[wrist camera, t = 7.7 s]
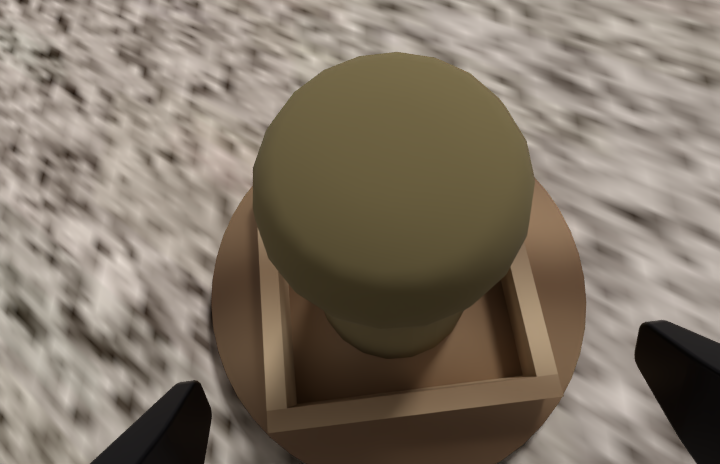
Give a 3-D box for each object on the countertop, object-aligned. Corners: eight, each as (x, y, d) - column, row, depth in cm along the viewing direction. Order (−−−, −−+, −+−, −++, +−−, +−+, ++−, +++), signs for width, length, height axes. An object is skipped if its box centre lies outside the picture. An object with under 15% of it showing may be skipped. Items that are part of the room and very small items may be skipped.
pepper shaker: (287, 289, 17) (120, 174, 7) (382, 184, 18) (368, -58, 8) (402, 394, 16) (419, 457, 5) (499, 272, 17) (676, 118, 6)
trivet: (625, 456, 15) (669, 474, 13) (224, 504, 16) (193, 530, 13) (525, 108, 20) (544, 71, 17) (218, 153, 20) (193, 124, 18)
